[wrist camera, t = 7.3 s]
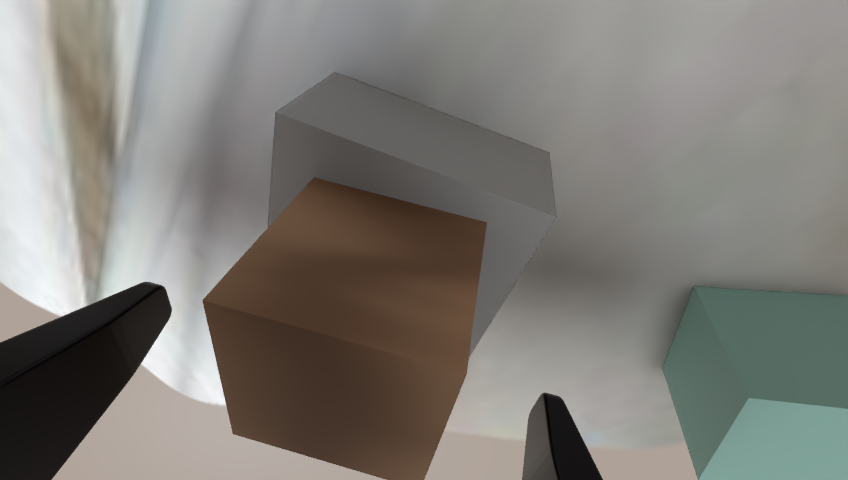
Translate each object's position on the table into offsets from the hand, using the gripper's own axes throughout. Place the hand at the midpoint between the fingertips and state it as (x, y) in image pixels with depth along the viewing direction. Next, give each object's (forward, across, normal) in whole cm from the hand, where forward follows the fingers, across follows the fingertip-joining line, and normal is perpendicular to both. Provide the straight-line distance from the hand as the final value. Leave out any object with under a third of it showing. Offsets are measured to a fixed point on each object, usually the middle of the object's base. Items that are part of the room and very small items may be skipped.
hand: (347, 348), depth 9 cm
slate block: (+7, 0, 0) cm, 7 cm away
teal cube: (+7, -13, +2) cm, 15 cm away
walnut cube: (+3, 0, 0) cm, 3 cm away
